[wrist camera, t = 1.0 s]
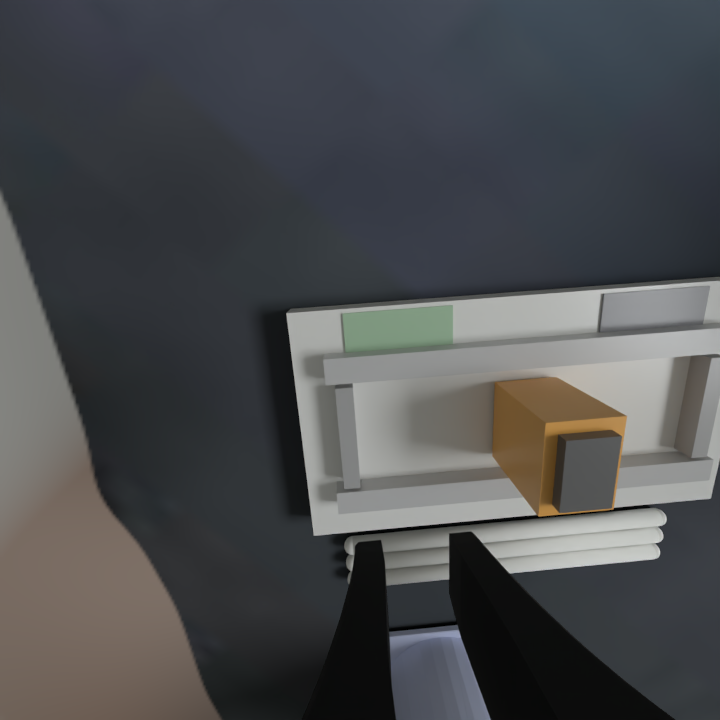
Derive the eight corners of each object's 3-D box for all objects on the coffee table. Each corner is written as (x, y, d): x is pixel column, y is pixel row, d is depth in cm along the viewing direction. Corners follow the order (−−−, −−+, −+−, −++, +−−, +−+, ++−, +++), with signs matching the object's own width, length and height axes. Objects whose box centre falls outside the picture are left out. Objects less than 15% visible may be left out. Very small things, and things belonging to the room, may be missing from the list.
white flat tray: (685, 482, 22) (729, 510, 19) (315, 516, 21) (312, 550, 18) (727, 275, 18) (786, 278, 16) (290, 308, 18) (282, 316, 15)
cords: (658, 503, 22) (672, 514, 21) (649, 549, 23) (663, 562, 22) (343, 532, 21) (343, 545, 20) (347, 578, 22) (348, 593, 21)
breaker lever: (549, 451, 19) (623, 518, 14) (491, 456, 18) (545, 525, 14) (556, 377, 17) (637, 422, 13) (494, 381, 17) (553, 429, 13)
